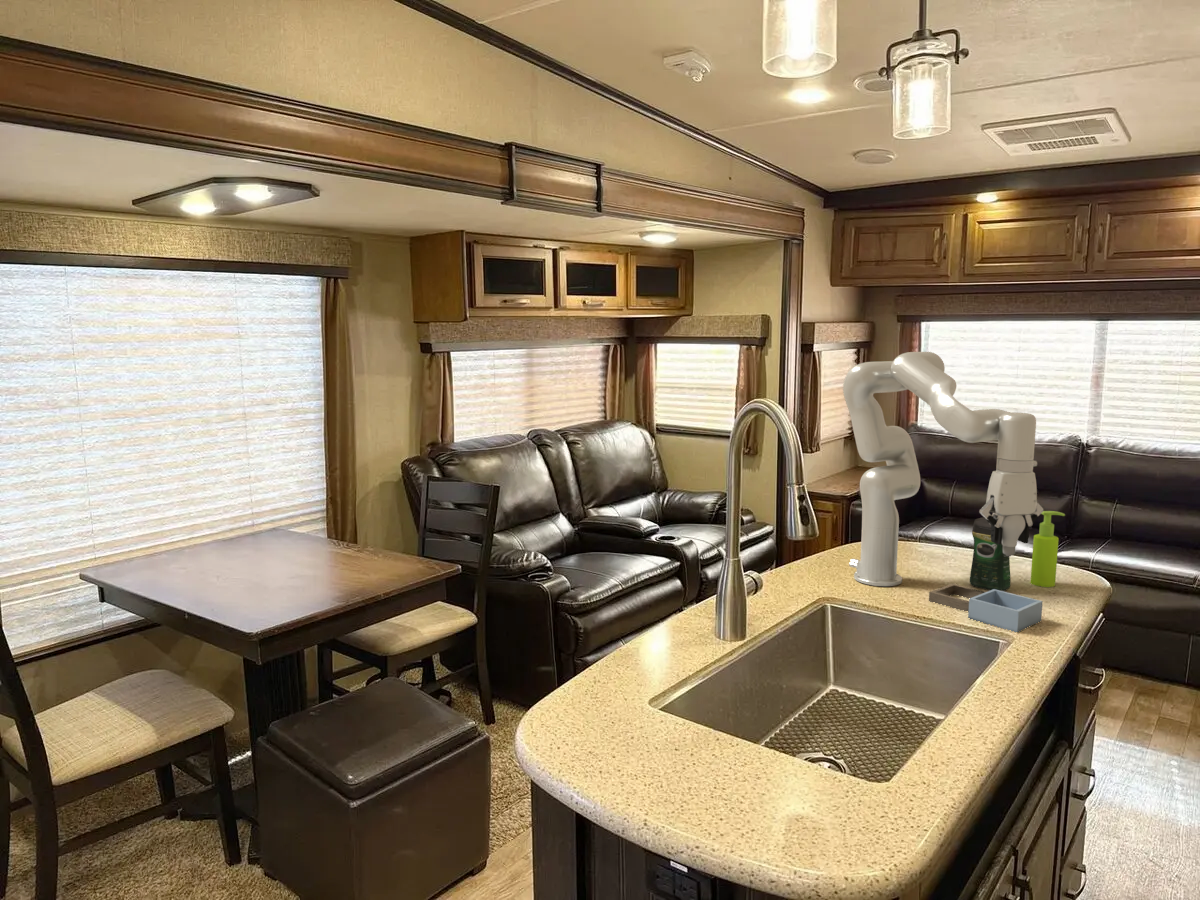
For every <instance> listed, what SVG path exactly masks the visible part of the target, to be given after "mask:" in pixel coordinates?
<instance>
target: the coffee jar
mask: <svg viewBox="0 0 1200 900" xmlns="http://www.w3.org/2000/svg"><path fill="white" fill-rule="evenodd" d="M971 535H972V539H973V553H972V559H971V560H972V561H971V568H970V573H969V584H970V585H971V586H973V587H975V588H979V589H983V590H986V589H987V590H986V591H990V590H993V589H996V590H1000V591H1004V592H1006V591H1007V590H1009V589H1010V587H1011V581H1012V580H1011V566H1010V565H1011V563H1010V562H1011V561H1010V556H1006V555H1005V554H1003V545H1002V543H1001V544H996V543H994V542H992V541H991V525H990V524H989V522H988V521H987V520H986V519H985V517H980V518H976V519H974V522H973V526H972V532H971Z"/></svg>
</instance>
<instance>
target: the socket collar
mask: <svg viewBox="0 0 1200 900" xmlns="http://www.w3.org/2000/svg"><path fill="white" fill-rule="evenodd" d="M985 592H986V591H984V590H983V591H982V590H979V589H976V588H975V589H974V588H971V587H968V586H963V585H959V584H955V583H950V584H947V585H945V586H942V587H940V588H939V587H938V588H936V589H933V590H931V591H929V592H928V602H929V601H930V602H929V603H933V602H935V603H934V604H936V603H938V604H937V605H940V604H942V605H941V606H944V605H946V606H945V607H947V606H950V607H949V608H951V607H952V608H951V609H954V608H956V609H955V610H958V609H960V610H959V611H961V610H964V611H963V612H965V611H969V600H966V599H969V598H972V597H975V596H977V595H980V594H982V593H985ZM953 594H955V595H953ZM950 595H951V596H950ZM957 595H959V596H958V597H959V598H958V597H955V596H957ZM961 596H963V597H962V598H965V597H967V598H966V599H962V598H960V597H961Z"/></svg>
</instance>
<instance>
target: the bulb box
mask: <svg viewBox="0 0 1200 900" xmlns="http://www.w3.org/2000/svg"><path fill="white" fill-rule="evenodd" d="M984 592H985V593H982V594H980V595H977V596H975V597H972V598H970V599H969V598H968V601H969V611H968V612H967V613H968V614H967V615H968V616H967V619H968V618H970V619H969V620H971V619H973V620H972V621H974V620H976V621H975V622H978V621H980V622H979V623H981V622H983V623H982V624H985V623H986V624H985V625H988V624H990V625H989V626H992V625H994V626H993V627H995V626H997V627H996V628H999V627H1000V629H1002V628H1003V630H1006V629H1007V631H1009V630H1011V631H1010V632H1013V631H1014V632H1013V633H1016V632H1018V633H1020V632H1022V631H1024V630H1026V629H1028V628H1030V627H1029V626H1031V625H1033V624H1035V625H1037V624H1039V623H1041V622H1042V617H1043V616H1042V615H1043V602H1044V601H1043V600H1040V599H1035V598H1032V597H1027V596H1023V595H1019V594H1015V593H1011V592H1009V591H1000V590H996V589H993V590H987V591H984ZM1040 621H1041V622H1040ZM1038 622H1039V623H1038ZM1036 623H1037V624H1036ZM1033 626H1034V625H1033ZM1027 627H1028V628H1027ZM1031 627H1032V626H1031ZM1025 628H1026V629H1025ZM1023 629H1024V630H1023ZM1021 630H1022V631H1021ZM1019 631H1020V632H1019Z"/></svg>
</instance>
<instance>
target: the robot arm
mask: <svg viewBox="0 0 1200 900" xmlns="http://www.w3.org/2000/svg"><path fill="white" fill-rule="evenodd" d="M945 368H946V367H945V363H944V361H943V358H941V356H940V355H938V354H937V353H934V352H931V351H910V352H909V351H908V352H904V353H903V352H902V353H901V354H899V355H897V356H896V357H895V358H894V360H889V361H887V360H886V361H866V362H861V363H858V364H856V365H854V366H853V367H851V369H849V370H848V372H847V373H846V375H845V377H844V380H843V384H842V393H843V396H844V401H845V404H846V406H847V410H848V412H849V417H850V421H851V425H852V430H853V431H852V432H853V434H854V435H853V436H854V440H855V444H856V445H855V446H856V449H857V453H858V455H859V457H860V459H861V460H863V461H865V462H868V463H879V462H885V463H886V465H882V466H875V467H873V468H872V467H871V468H870V469H868V470H866V471H865V472H864V473H863V474H862V476H861V477H860V480H859V493H860V498H861V506H862V507H861V510H862V511H861V539H860V540H861V541H860V542H861V543H860V559H857V558H851V559H850V562H849V567H851V568H855V569H856V571H855V572H854V574H853V578H854V580H855V581H857V582H858V583H862V584H865V585H868V586H873V587H894V586H895V587H896V586H899V585H901V584H902V582H903V577H902V576H901V575H900V574H898V573H897V570H898V568H897V567H898V549H899V546H898V545H899V526H900V525H899V524H900V517H899V516H900V515H899V512H898V509H897V506H896V503H895V501H896V500H897V501H898V500H902V499H903V500H904V499H908V498H911V497H913V496H915V495H917V493H918V492H919V489H920V487H921V474H920V470H919V464H918V461H917V457H916V455H917V454H916V452H915V447H914V444H913V440H912V438H911V435H910V434H909V433H908V432H907V431H906V430H905V429H904V428H903V427H901V426H898V425H887V424H886V421H885V417H884V411H883V409H882V407H881V405H880V403H879V402H878V400H876V398H875V396H874V394H881V393H882V394H883V393H897V392H903V391H907V390H908V391H910V392H911V393H913V394H914V395H915V396H917V398H919V399H921V400H922V401H924V403H926V404H927V405H928V406H929V407H930V410H931V414H932V416H933V417H934V419H935V421H936V422H937V423H938V424H939V425H940V426H941V428H943V429H944V430H946V431H947V432H949V433H950V434H951V435H952V436H954V437H955V438H956V439H958V440H961V441H963V442H966V443H969V444H970V443H972V444H973V443H982V442H992V441H997V452H996V453H997V454H996V465H995V466H996V468H995V469H996V470H993V471H992V473H991V474H990V475H991V476H990V478H989V483H988V488H987V492H986V501H985V504H984V505H983V506H982V507H981V508H979V511H978V513H979V514H980V515H981V516H982V518H985V519H986V520H987V521H988V522H989V524H990V525H991V541H992V542H994V543H996V544H1001V543H1002V532H1003V529H1002V528H1001V527H1000V526H1001V523H1002V521H1003V519H1004V517H1005V516H1010V515H1022V516H1023V518H1024V520H1025V528H1024V530H1023V532H1022V533H1021V534H1020V536H1019V538H1018V541H1017V542H1020V543H1022V544H1028V543H1029V537H1030V527H1032V526H1033V524H1034V522H1036V520H1037V519H1038V518H1039V516H1040V515H1042V514H1041V513H1042V512H1043V511H1045V510H1044V508H1043V507H1042V505H1040V503H1039V502H1038V499H1037V498H1038V494H1037V493H1038V489H1037V488H1038V487H1037V479H1036V473H1035V472H1034V467H1038V461H1037V460H1034V459H1035V458H1034V456H1035V447H1036V446H1035V444H1036V431H1037V430H1036V429H1037V417H1036V416H1035V415H1034V414H1032V413H1029V412H1027V413H1026V412H1018V411H1017V412H1015V411H1014V412H1011V411H1007V410H1004V409H1003V410H1002V409H999V408H998V409H997V408H988V409H987V408H986V409H973V410H972V409H970V408H968V407H966V406H965V405H964V404H963V403H961V402H960V401H959V400H958V399H956V398H955V397H954V395H955V393H956V390H957V382H956V380H955V379H954V378H953V377H952V376H950V375H948V374H947V373H946V372H945ZM991 513H992V514H991Z"/></svg>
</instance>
